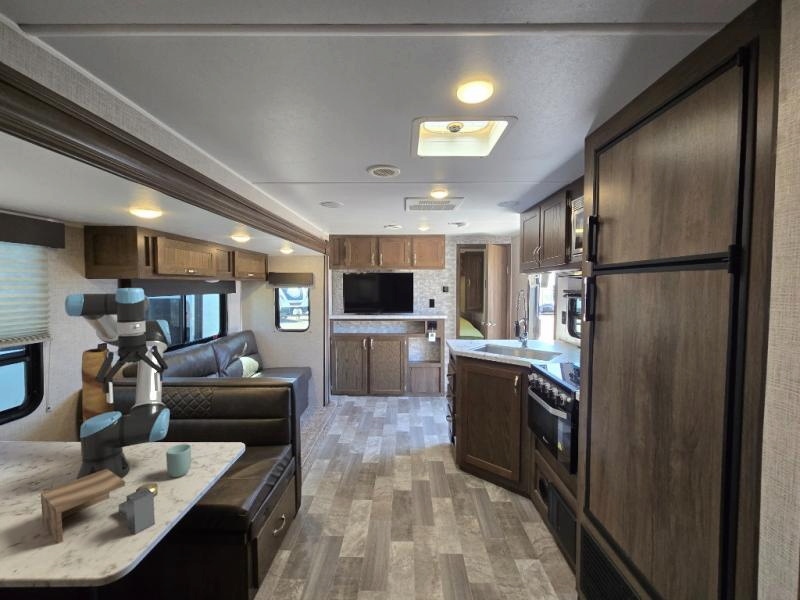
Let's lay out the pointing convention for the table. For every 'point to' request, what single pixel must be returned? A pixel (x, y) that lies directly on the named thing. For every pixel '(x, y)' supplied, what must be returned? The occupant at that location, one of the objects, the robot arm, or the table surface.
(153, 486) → the gold metal dome
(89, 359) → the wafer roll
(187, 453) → the cup
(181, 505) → the table surface
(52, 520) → the brown piece
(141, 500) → the grey toy mallet
